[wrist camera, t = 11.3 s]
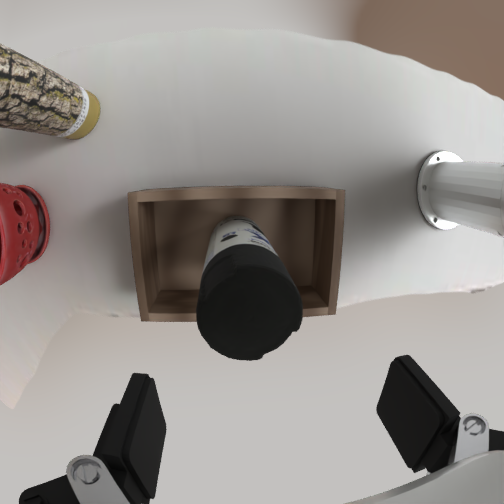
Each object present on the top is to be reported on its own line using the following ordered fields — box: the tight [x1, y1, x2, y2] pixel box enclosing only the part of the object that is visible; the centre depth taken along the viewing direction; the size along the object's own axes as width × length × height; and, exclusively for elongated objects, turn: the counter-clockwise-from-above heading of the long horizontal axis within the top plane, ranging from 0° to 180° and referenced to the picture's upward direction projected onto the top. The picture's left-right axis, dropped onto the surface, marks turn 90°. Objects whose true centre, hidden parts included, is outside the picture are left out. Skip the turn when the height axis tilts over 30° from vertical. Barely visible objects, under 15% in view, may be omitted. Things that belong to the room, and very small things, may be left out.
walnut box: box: [128, 186, 345, 322], centre depth 33 cm, size 22×14×8 cm, turn 90°
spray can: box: [196, 216, 303, 361], centre depth 26 cm, size 7×7×20 cm
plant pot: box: [0, 183, 50, 285], centre depth 27 cm, size 13×13×12 cm
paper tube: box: [0, 44, 100, 139], centre depth 19 cm, size 7×7×25 cm
